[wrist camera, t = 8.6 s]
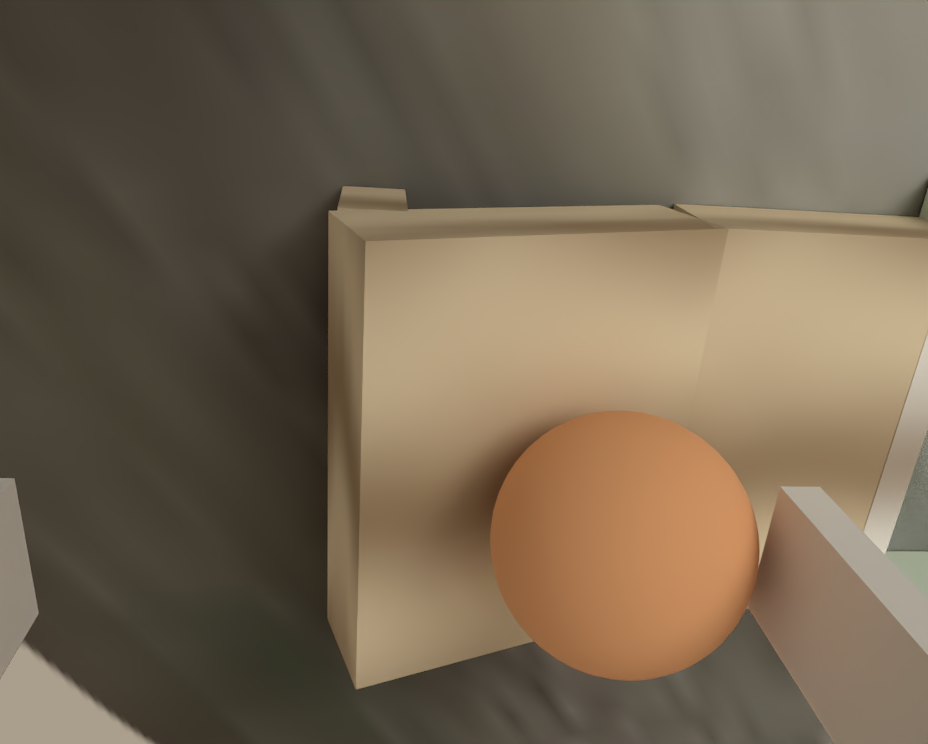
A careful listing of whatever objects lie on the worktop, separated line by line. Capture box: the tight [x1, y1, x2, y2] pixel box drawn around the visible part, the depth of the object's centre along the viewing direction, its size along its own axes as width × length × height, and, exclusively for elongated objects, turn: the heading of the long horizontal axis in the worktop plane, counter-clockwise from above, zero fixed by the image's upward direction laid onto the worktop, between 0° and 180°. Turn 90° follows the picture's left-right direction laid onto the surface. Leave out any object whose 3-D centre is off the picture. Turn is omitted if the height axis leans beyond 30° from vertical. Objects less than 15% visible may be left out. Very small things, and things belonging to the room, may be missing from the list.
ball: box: [490, 411, 760, 681], centre depth 15 cm, size 5×5×5 cm
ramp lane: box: [327, 186, 928, 689], centre depth 18 cm, size 10×14×5 cm
